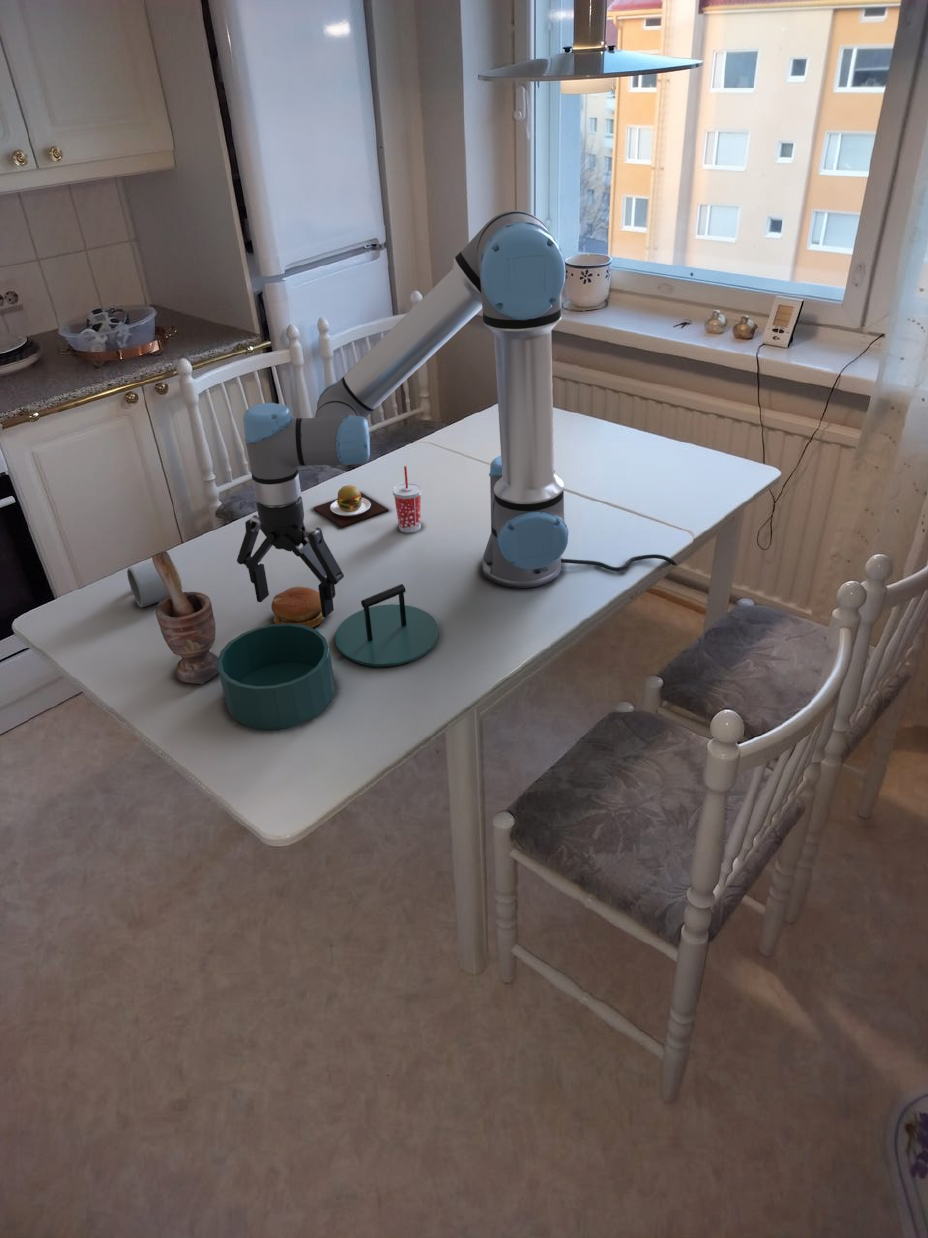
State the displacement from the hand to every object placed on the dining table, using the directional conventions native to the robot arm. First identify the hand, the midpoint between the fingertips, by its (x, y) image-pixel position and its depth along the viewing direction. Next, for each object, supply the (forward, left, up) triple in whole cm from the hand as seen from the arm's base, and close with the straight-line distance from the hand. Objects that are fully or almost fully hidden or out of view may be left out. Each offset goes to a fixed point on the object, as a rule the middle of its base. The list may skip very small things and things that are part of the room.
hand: (295, 605), depth 155 cm
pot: (-9, +20, -3) cm, 22 cm away
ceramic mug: (+30, +3, -3) cm, 30 cm away
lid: (-18, 0, -2) cm, 18 cm away
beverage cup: (-4, -38, -3) cm, 39 cm away
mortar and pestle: (+9, +19, -3) cm, 21 cm away
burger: (0, 0, -3) cm, 3 cm away
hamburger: (+12, -41, -3) cm, 43 cm away
